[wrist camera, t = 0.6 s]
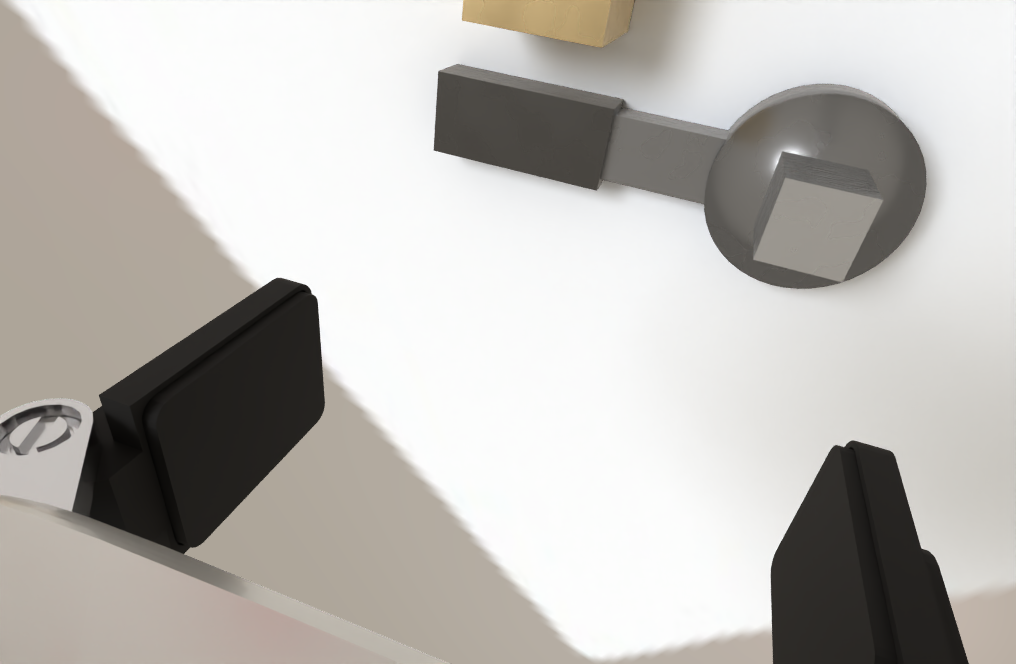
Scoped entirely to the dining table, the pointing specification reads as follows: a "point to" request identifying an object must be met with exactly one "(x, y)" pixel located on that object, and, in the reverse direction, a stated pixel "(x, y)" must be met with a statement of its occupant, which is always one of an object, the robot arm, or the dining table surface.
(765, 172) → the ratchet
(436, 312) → the dining table surface
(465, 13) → the brushed gold cube
